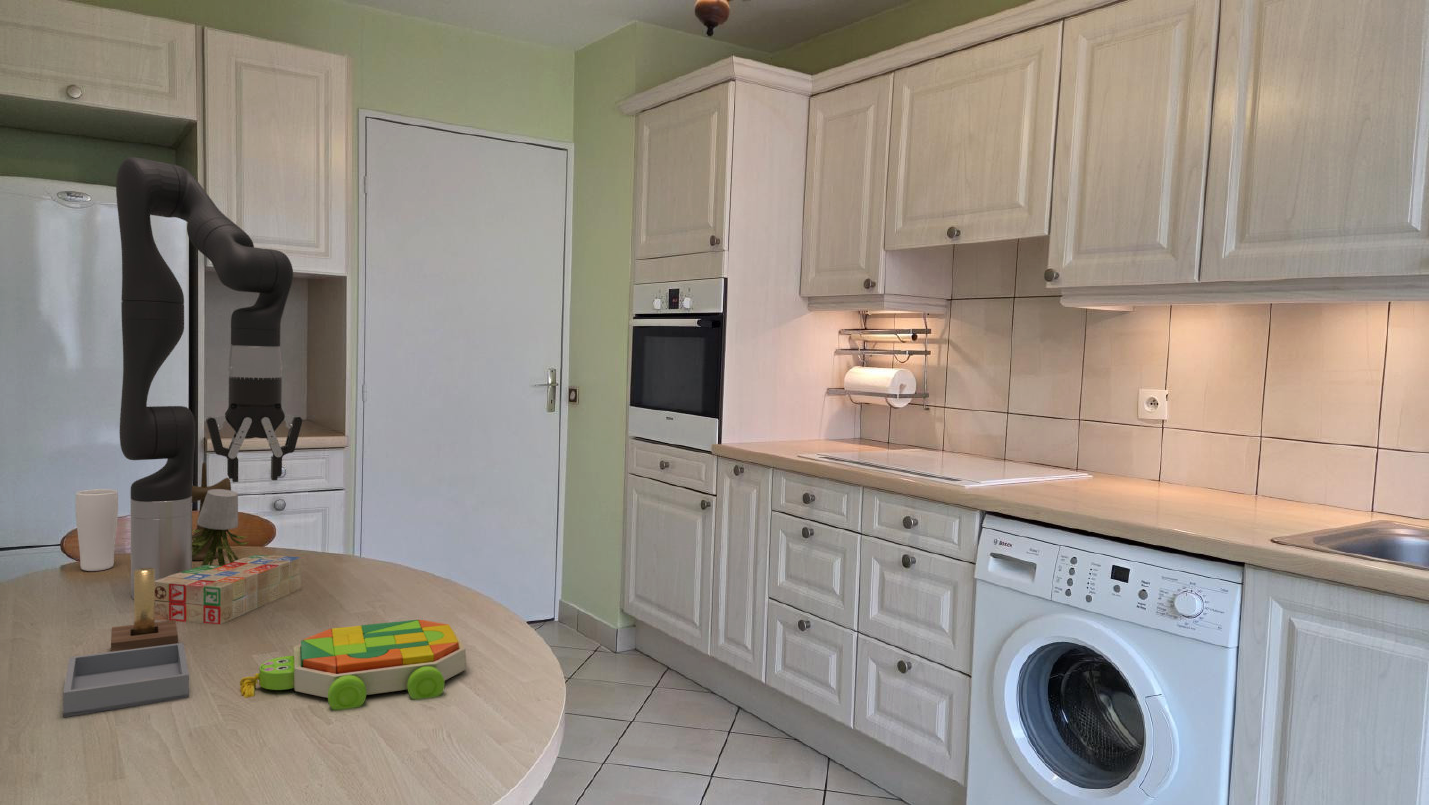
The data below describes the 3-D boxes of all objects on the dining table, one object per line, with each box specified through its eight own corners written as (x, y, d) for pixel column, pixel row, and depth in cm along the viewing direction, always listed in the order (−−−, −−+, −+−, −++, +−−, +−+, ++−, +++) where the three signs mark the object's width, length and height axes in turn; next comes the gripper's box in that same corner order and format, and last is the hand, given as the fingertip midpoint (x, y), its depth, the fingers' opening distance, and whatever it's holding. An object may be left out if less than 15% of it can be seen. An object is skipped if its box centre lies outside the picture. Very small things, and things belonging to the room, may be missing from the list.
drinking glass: (89, 564, 178) (88, 488, 177) (125, 564, 179) (125, 489, 178) (67, 572, 172) (67, 494, 171) (105, 573, 172) (105, 495, 171)
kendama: (231, 560, 185) (232, 463, 184) (177, 565, 180) (177, 465, 179) (229, 554, 190) (229, 459, 189) (175, 558, 185) (175, 461, 184)
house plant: (267, 508, 169) (253, 591, 171) (273, 490, 182) (260, 568, 183) (180, 499, 164) (166, 585, 165) (193, 481, 177) (180, 561, 178)
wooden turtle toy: (243, 668, 127) (243, 629, 127) (448, 646, 139) (449, 611, 139) (234, 729, 108) (234, 683, 107) (474, 698, 120) (475, 657, 119)
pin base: (111, 647, 133) (111, 627, 132) (175, 639, 137) (175, 620, 137) (110, 664, 126) (110, 643, 126) (177, 655, 130) (177, 635, 130)
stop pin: (134, 650, 132) (134, 568, 131) (154, 647, 133) (154, 567, 132) (134, 655, 130) (134, 572, 129) (154, 652, 131) (154, 571, 130)
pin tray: (69, 679, 120) (69, 657, 120) (183, 663, 127) (183, 642, 127) (63, 717, 108) (63, 693, 108) (188, 698, 115) (188, 674, 115)
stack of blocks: (301, 590, 165) (240, 585, 167) (301, 556, 165) (240, 552, 167) (219, 625, 144) (150, 619, 146) (219, 587, 144) (150, 581, 146)
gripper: (300, 374, 151) (299, 475, 152) (202, 372, 143) (201, 479, 144) (308, 376, 144) (307, 482, 146) (205, 375, 137) (205, 486, 138)
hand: (254, 480), depth 145 cm, fingers open, 5 cm apart
